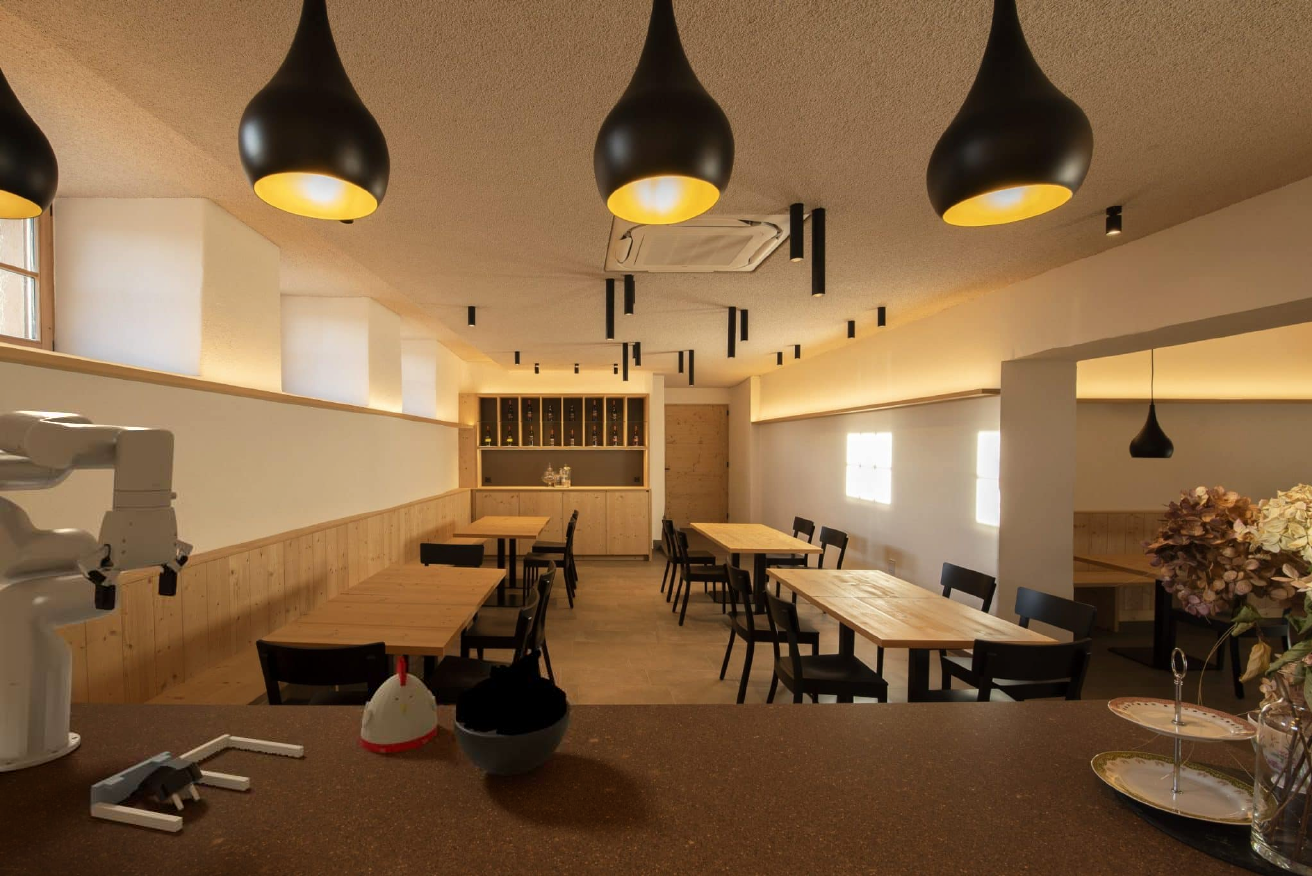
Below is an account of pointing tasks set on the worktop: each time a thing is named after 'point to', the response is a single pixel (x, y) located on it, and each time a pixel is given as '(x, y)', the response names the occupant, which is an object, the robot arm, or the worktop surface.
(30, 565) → the robot arm
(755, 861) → the worktop surface
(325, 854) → the worktop surface
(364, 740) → the kitchen timer
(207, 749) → the cable organizer
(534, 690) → the coal bowl
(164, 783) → the power plug
